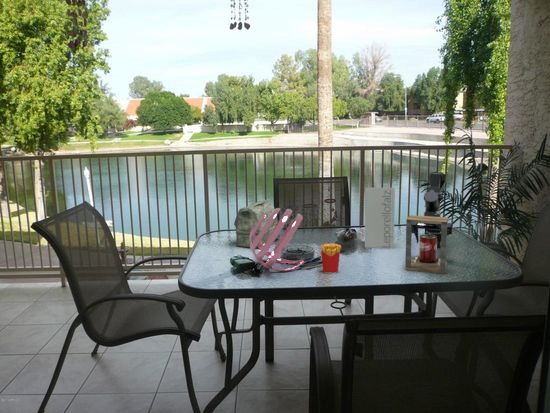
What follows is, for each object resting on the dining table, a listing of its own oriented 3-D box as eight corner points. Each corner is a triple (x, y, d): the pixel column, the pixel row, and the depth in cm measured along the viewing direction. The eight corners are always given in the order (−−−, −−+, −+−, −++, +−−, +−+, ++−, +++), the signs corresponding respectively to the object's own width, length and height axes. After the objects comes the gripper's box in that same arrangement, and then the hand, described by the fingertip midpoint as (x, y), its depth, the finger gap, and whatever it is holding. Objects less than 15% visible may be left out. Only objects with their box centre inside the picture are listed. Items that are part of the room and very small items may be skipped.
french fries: (321, 272, 194) (321, 245, 192) (321, 269, 198) (320, 243, 196) (341, 272, 193) (341, 245, 191) (340, 269, 197) (340, 243, 195)
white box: (364, 247, 230) (365, 189, 225) (365, 244, 236) (365, 187, 230) (393, 248, 227) (394, 189, 221) (393, 245, 232) (394, 187, 227)
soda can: (430, 259, 205) (431, 233, 202) (439, 263, 198) (440, 237, 196) (415, 260, 203) (416, 234, 201) (424, 265, 196) (425, 238, 194)
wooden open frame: (410, 259, 209) (411, 212, 205) (447, 262, 202) (449, 214, 198) (405, 269, 194) (406, 219, 190) (444, 273, 188) (447, 221, 184)
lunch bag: (254, 235, 262) (253, 198, 258) (283, 238, 254) (281, 199, 250) (231, 246, 239) (229, 206, 235) (261, 250, 231) (260, 208, 227)
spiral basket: (328, 220, 206) (278, 187, 206) (317, 250, 181) (260, 213, 181) (298, 261, 220) (251, 230, 220) (283, 294, 195) (230, 260, 195)
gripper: (409, 203, 206) (405, 232, 198) (453, 205, 198) (450, 236, 190) (411, 216, 214) (407, 245, 207) (453, 219, 207) (450, 248, 199)
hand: (428, 243), depth 200 cm, fingers open, 9 cm apart
